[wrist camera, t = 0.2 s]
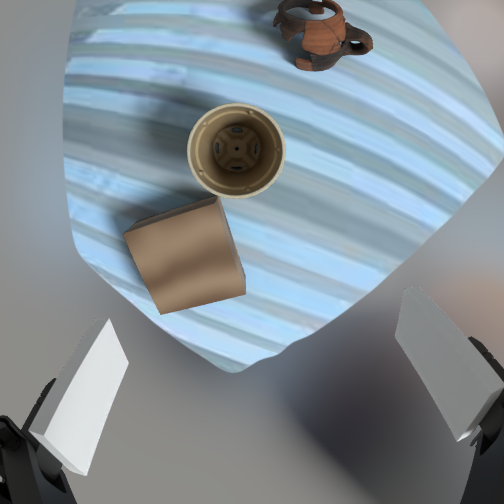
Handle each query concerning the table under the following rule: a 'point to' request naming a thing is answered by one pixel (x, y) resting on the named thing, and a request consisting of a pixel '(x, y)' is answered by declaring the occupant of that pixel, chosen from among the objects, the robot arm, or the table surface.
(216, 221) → the walnut stand
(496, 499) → the robot arm
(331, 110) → the table surface
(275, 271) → the table surface
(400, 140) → the table surface
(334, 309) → the table surface
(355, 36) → the broken clay jug
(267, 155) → the flower pot
